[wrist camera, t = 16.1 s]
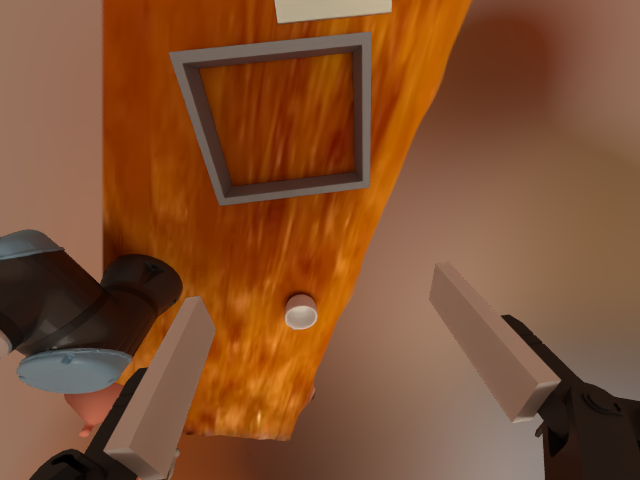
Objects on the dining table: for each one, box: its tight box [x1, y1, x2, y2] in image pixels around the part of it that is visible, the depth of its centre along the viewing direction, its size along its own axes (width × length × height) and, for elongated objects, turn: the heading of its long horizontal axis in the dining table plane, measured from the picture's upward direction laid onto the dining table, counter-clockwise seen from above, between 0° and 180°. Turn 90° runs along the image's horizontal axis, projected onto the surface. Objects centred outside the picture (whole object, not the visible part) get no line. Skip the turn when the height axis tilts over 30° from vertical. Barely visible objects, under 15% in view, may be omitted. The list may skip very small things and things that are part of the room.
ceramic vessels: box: [64, 383, 187, 480], centre depth 68 cm, size 35×21×19 cm, turn 71°
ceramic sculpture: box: [159, 448, 180, 480], centre depth 85 cm, size 11×9×15 cm
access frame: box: [169, 32, 372, 206], centre depth 38 cm, size 25×20×6 cm
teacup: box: [285, 294, 318, 330], centre depth 59 cm, size 10×8×5 cm
